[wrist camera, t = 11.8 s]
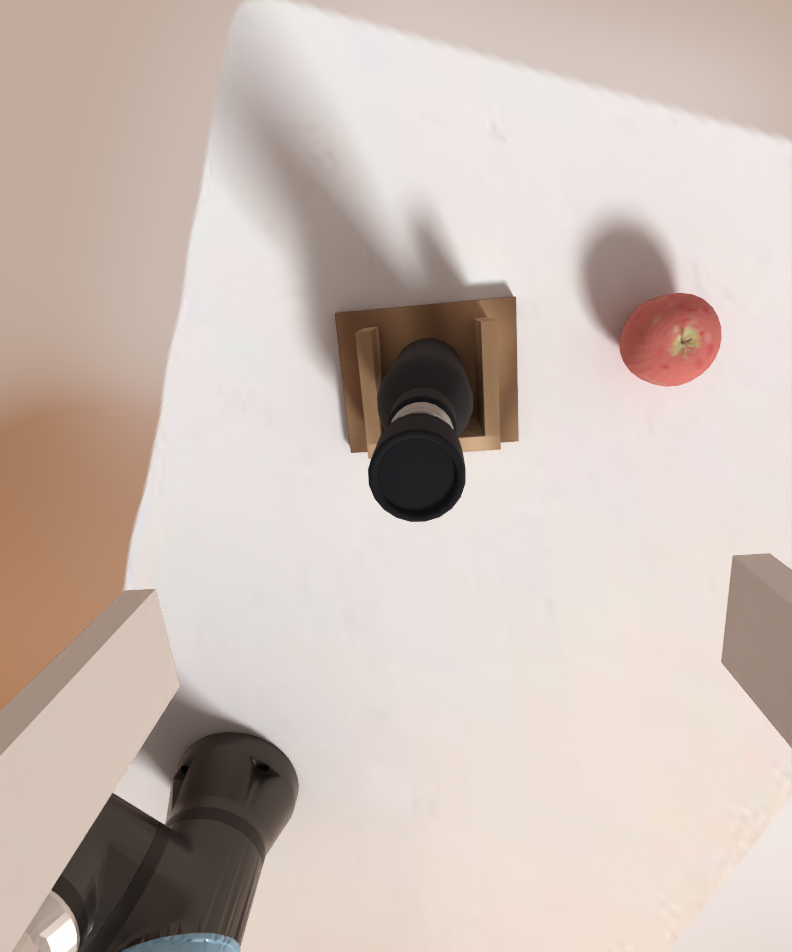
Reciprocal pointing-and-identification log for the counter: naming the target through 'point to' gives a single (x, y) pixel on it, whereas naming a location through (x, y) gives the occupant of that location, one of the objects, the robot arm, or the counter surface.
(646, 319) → the apple
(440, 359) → the wine bottle
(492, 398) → the u rest
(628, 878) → the counter surface
